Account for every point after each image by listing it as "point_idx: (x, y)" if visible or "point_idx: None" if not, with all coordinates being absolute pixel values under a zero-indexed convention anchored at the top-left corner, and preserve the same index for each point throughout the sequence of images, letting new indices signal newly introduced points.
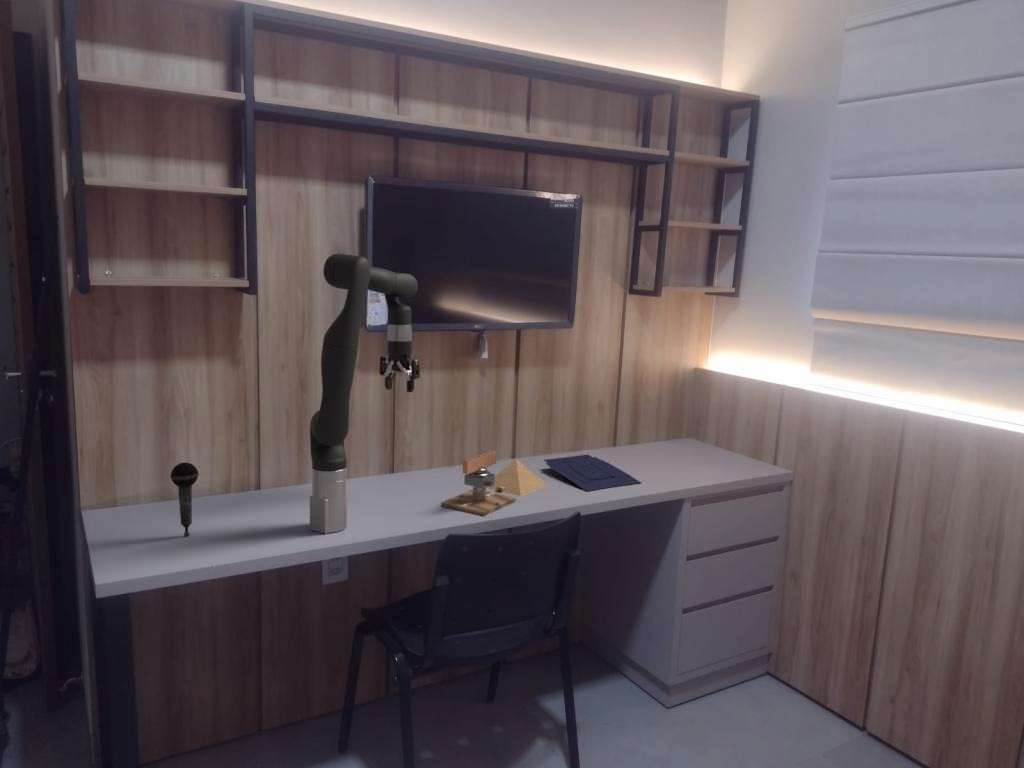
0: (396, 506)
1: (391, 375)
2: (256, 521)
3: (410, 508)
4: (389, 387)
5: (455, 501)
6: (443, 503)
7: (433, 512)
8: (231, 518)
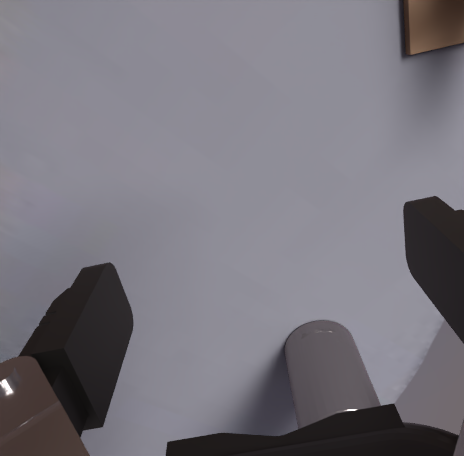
0: (309, 160)
1: (47, 379)
2: (188, 417)
3: (351, 141)
4: (118, 304)
5: (443, 8)
6: (419, 52)
7: (426, 113)
8: (142, 437)
